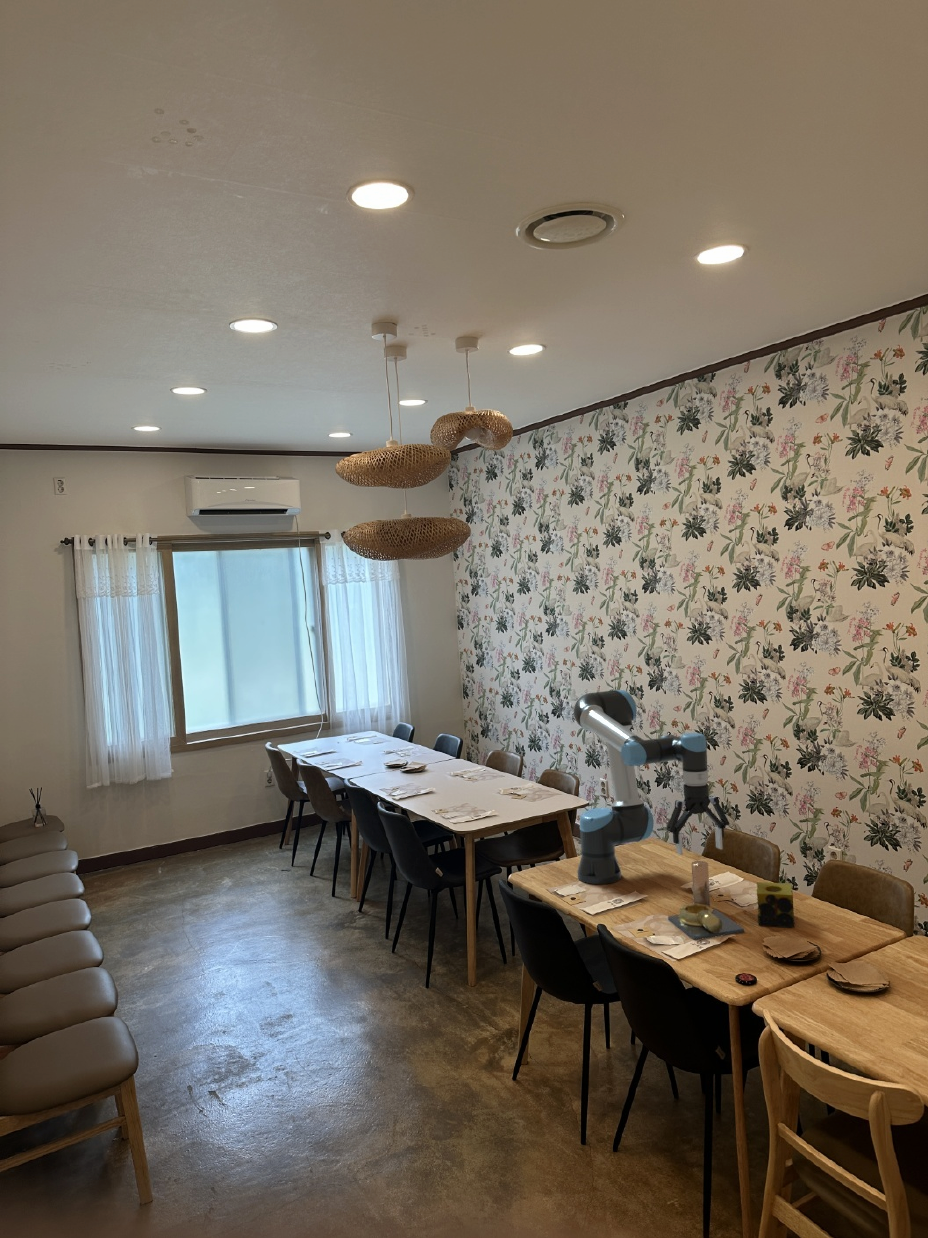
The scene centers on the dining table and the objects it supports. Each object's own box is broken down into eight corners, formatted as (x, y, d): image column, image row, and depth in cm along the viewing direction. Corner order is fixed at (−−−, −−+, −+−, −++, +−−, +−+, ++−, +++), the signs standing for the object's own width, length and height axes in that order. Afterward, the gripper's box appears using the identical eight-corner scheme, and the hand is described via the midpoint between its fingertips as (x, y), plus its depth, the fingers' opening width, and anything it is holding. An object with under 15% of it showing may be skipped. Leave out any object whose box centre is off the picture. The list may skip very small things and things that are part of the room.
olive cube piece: (793, 916, 254) (792, 883, 254) (795, 929, 245) (793, 895, 245) (758, 913, 258) (756, 881, 257) (758, 926, 248) (756, 892, 248)
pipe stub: (690, 906, 266) (688, 862, 266) (705, 903, 268) (703, 860, 267) (698, 911, 262) (696, 867, 261) (713, 909, 263) (711, 864, 262)
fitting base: (667, 919, 257) (666, 901, 257) (715, 911, 261) (714, 894, 260) (693, 940, 241) (692, 921, 241) (744, 932, 245) (743, 913, 244)
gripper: (664, 790, 257) (668, 859, 258) (738, 781, 262) (741, 849, 263) (653, 785, 264) (657, 852, 265) (725, 777, 270) (729, 842, 270)
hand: (699, 851), depth 264 cm, fingers open, 13 cm apart
